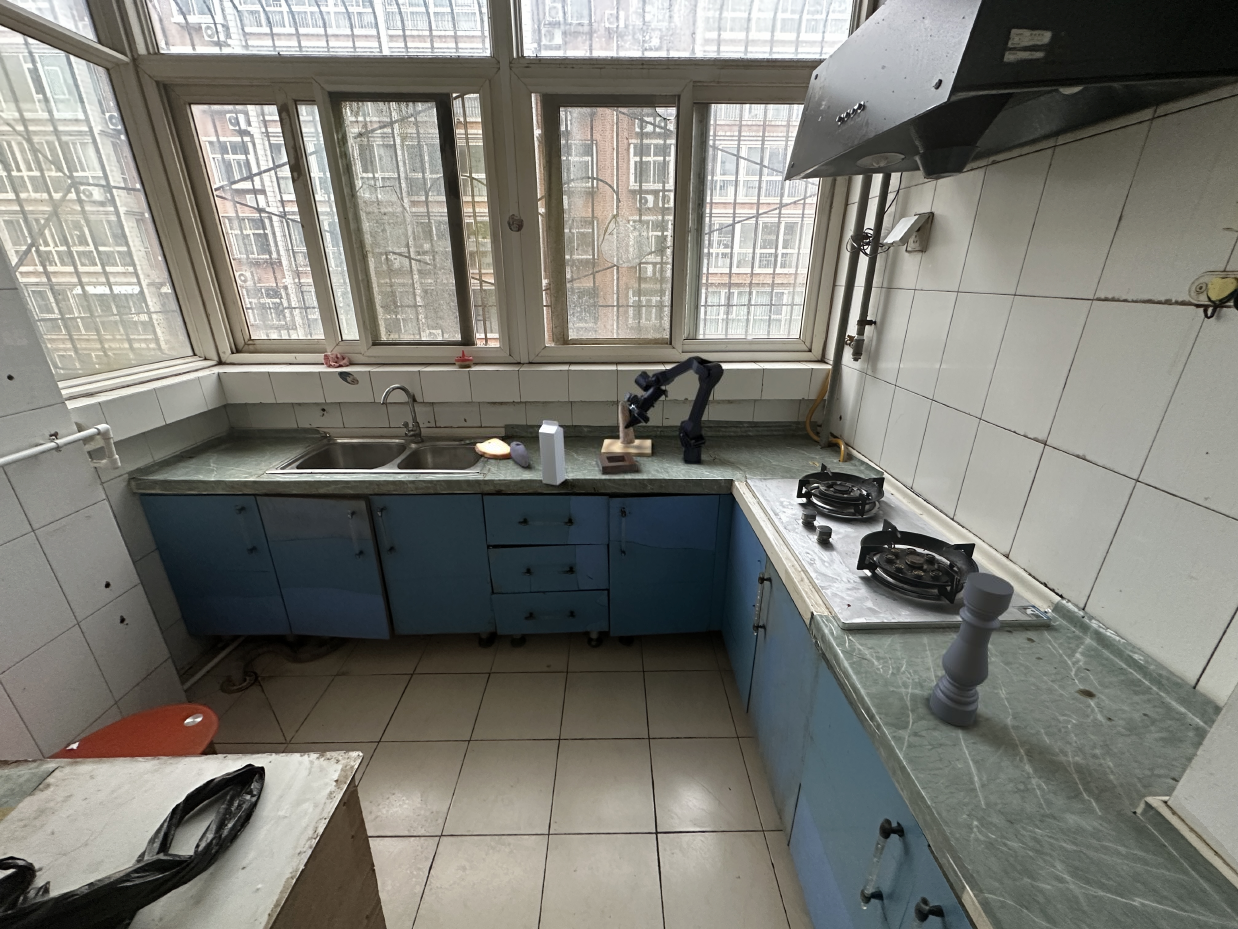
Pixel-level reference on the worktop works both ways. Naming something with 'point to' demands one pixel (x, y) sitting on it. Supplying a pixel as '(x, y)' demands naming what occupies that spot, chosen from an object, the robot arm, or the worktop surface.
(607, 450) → the board
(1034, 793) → the worktop surface
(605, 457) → the holder
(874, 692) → the worktop surface
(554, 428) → the milk
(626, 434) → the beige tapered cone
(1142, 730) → the worktop surface
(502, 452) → the slice of bread
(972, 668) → the candle holder
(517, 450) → the perforated stone tool
